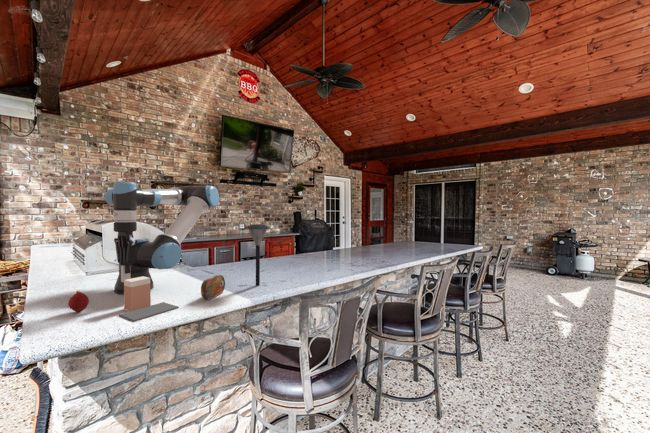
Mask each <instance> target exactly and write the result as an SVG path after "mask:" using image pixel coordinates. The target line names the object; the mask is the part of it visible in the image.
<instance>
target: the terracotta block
mask: <svg viewBox="0 0 650 433" xmlns="http://www.w3.org/2000/svg"><path fill="white" fill-rule="evenodd" d="M123 301H124V302H123V308H124V309H123V310H126V311H127V312H130V311H133V310H137V309H140V308H144V307H148V306H151V305H152V304H151V303H152V302H151V290H150V278H148V277H144V276H142V277H137V278H132V279H126V280H124V294H123Z"/></svg>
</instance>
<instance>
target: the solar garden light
mask: <svg viewBox="0 0 650 433" xmlns="http://www.w3.org/2000/svg"><path fill="white" fill-rule="evenodd" d="M244 229H246V230H248V231H249V233H250V236H251V238H252V240H253V243H254V244H255V287H260V285H261V283H260V282H261V281H260V280H261V278H260V277H261V275H260V273H261V272H260V271H261V270H260V269H261V267H260V264H261V262H260V261H261V260H260V259H261V253H260V252H261V251H260V250H261V247H260V246H261V243H262V241H263V239H264V238H265V237H264V236H265V234H266V232H267V230H270V229H271V227H270V226H268V225H266V224H264V223H263V224H262V223H261V224H260V223H257V224H256V223H255V224H250V225H248V226H246V227H245V228H244Z"/></svg>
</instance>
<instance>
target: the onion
mask: <svg viewBox="0 0 650 433" xmlns="http://www.w3.org/2000/svg"><path fill="white" fill-rule="evenodd" d="M89 304H90V299H89V296H88V295H87V294H85V293H84V292H81V291H80V290H76V292H75V293H74V294H73V295H72V296H71V297H70V298H69V300H68V307H69V309H70V310H72V311H74V312H75V313H77V314H78V313H81V312H82V311H84V310H86V309H87V308H88V306H89Z"/></svg>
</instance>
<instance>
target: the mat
mask: <svg viewBox="0 0 650 433" xmlns="http://www.w3.org/2000/svg"><path fill="white" fill-rule="evenodd" d="M179 308H180V307H179V306H177V305H174V304H171V303H167V302H164V301H163V302H159V303H155V304H151V306H148V307H144V308H140V309H137V310H133V311H126V312H123V313H119V314H118V316H119V317H121V318H123V319H127V320H129V321H131V322H137V321H141V320H145V319H148V318H151V317H154V316H157V315H161V314H163V313H167V312H170V311H173V310H177V309H179Z"/></svg>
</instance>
